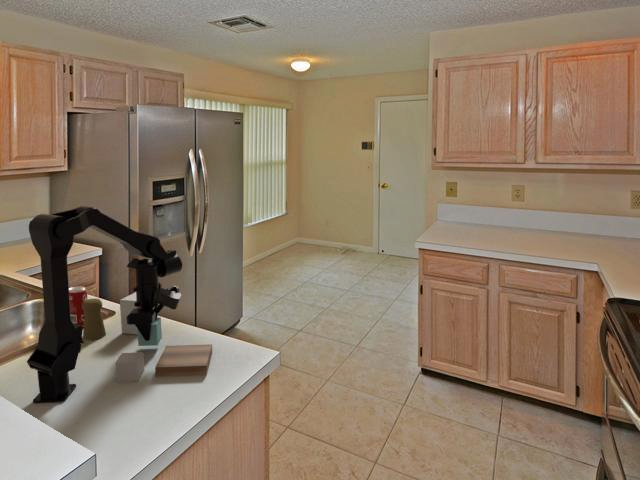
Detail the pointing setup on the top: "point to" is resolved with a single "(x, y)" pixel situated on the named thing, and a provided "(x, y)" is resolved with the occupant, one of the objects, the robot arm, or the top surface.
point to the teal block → (152, 334)
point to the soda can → (77, 304)
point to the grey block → (129, 367)
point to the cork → (93, 320)
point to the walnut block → (184, 360)
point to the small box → (125, 309)
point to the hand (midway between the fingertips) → (150, 336)
